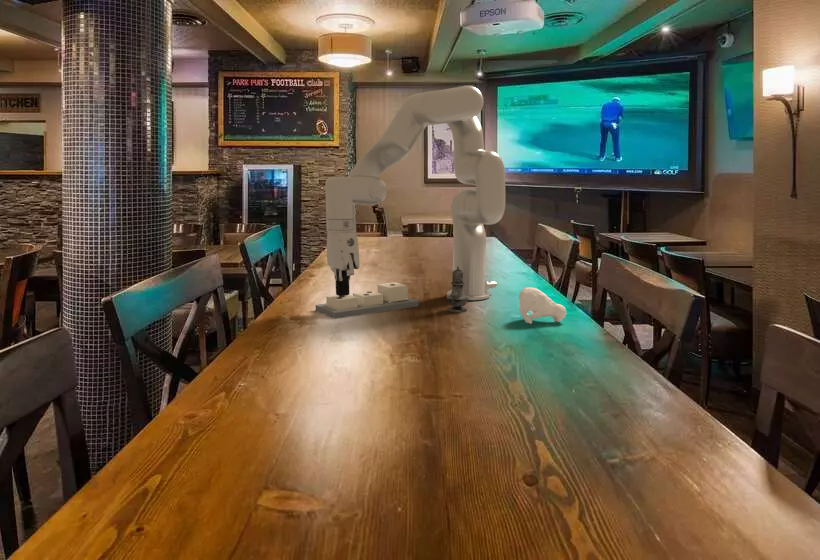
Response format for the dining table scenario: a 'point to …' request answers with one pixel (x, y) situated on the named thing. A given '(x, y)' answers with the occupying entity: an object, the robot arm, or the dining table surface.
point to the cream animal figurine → (539, 305)
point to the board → (366, 308)
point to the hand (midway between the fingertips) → (342, 294)
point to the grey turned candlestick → (457, 293)
